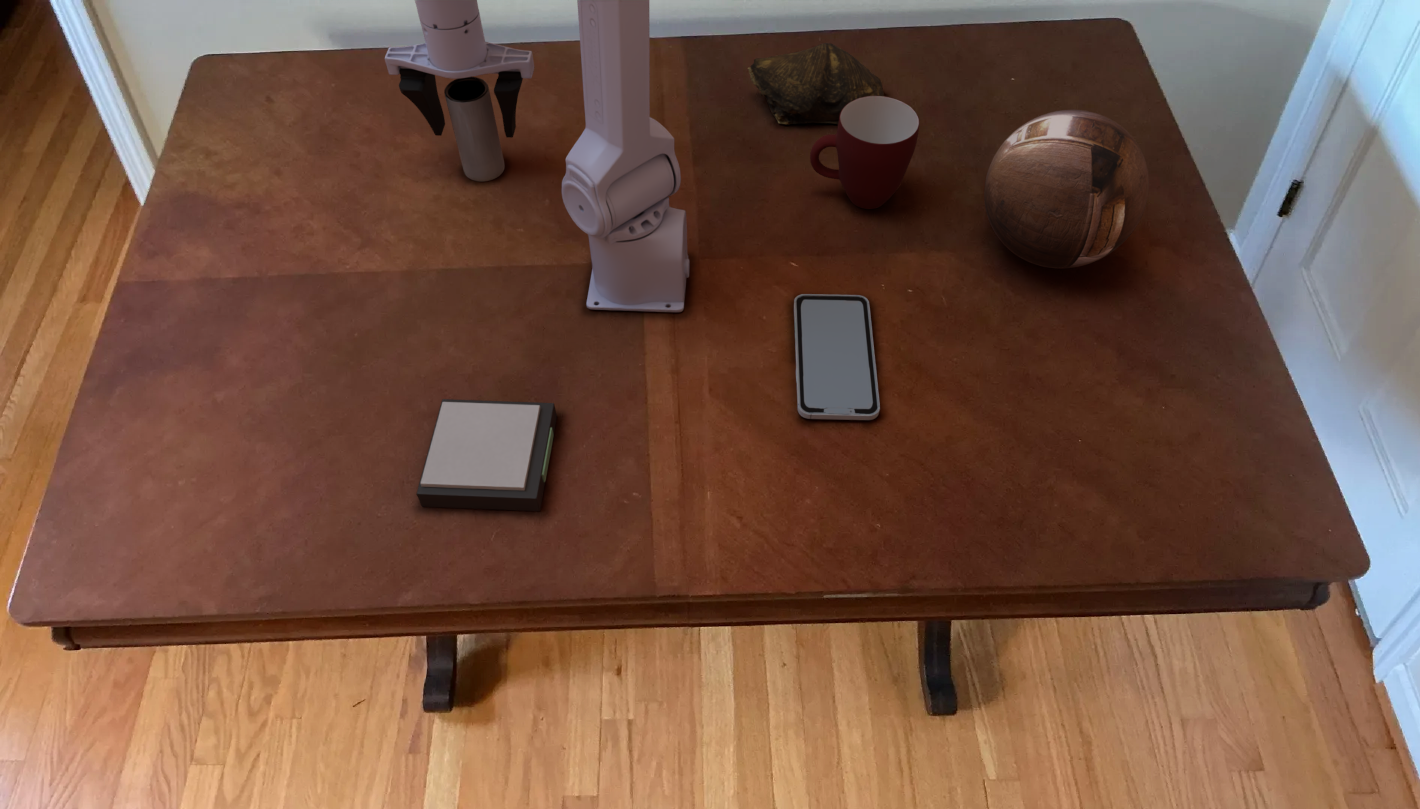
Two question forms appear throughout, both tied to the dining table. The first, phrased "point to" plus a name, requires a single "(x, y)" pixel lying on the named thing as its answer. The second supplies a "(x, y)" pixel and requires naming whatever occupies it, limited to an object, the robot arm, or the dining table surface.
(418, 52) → the robot arm
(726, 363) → the dining table surface
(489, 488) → the scale
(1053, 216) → the shiny copper ball
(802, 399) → the smartphone
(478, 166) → the gray cylinder
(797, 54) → the seashell
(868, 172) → the mug
